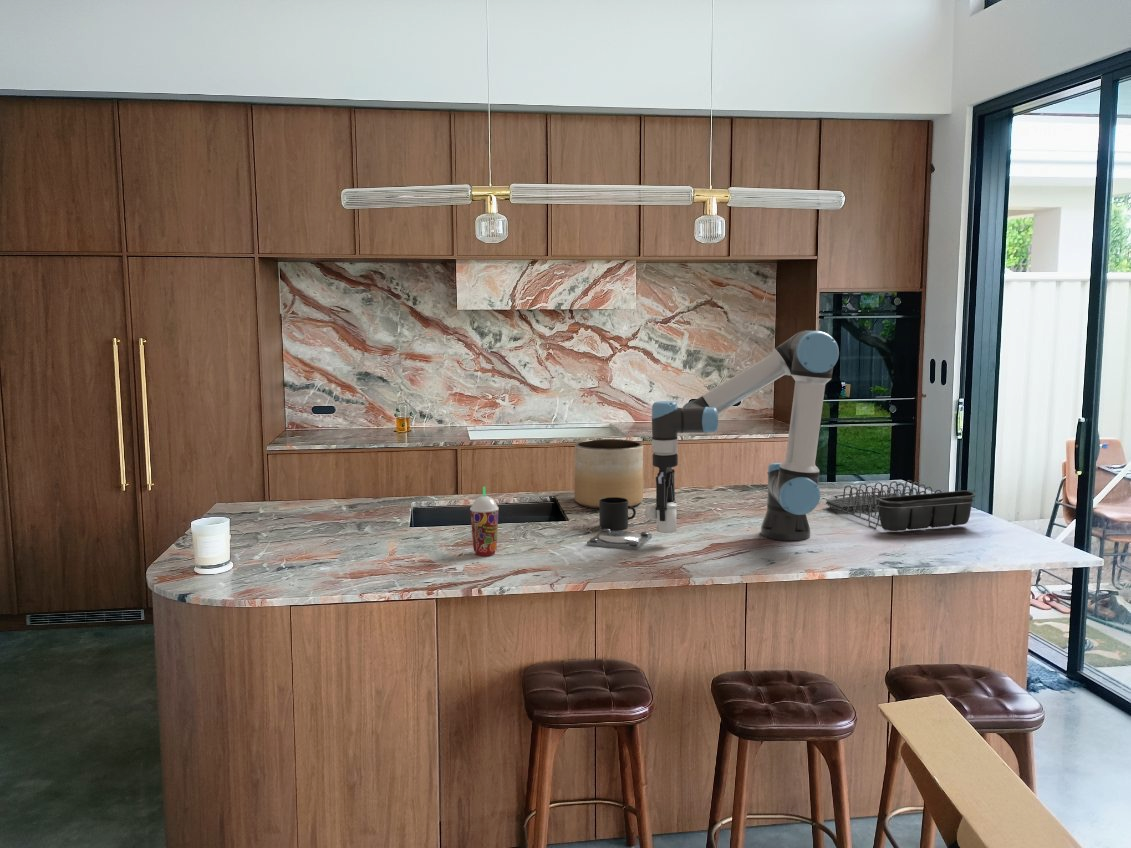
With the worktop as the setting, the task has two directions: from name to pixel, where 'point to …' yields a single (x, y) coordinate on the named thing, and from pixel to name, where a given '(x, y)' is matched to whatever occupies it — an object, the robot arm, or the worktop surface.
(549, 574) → the worktop surface
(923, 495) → the dish rack
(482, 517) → the smoothie
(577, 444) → the planter
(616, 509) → the mug
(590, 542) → the duct flange
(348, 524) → the worktop surface
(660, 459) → the robot arm
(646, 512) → the elbow
